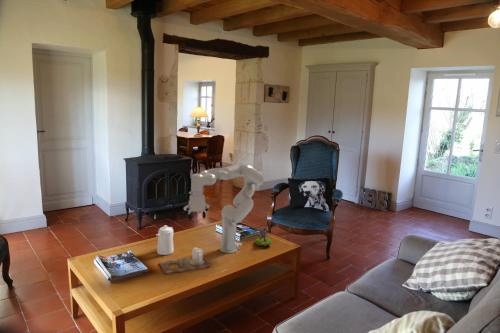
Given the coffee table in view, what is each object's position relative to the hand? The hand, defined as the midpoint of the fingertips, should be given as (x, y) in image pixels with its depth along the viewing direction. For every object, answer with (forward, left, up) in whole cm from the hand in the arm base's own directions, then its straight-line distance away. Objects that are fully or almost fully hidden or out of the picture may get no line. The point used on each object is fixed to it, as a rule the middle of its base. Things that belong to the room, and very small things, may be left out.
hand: (196, 218), depth 232 cm
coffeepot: (+17, -14, -26) cm, 34 cm away
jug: (+2, +10, -25) cm, 27 cm away
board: (+10, +9, -26) cm, 30 cm away
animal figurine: (-52, -3, -26) cm, 58 cm away
